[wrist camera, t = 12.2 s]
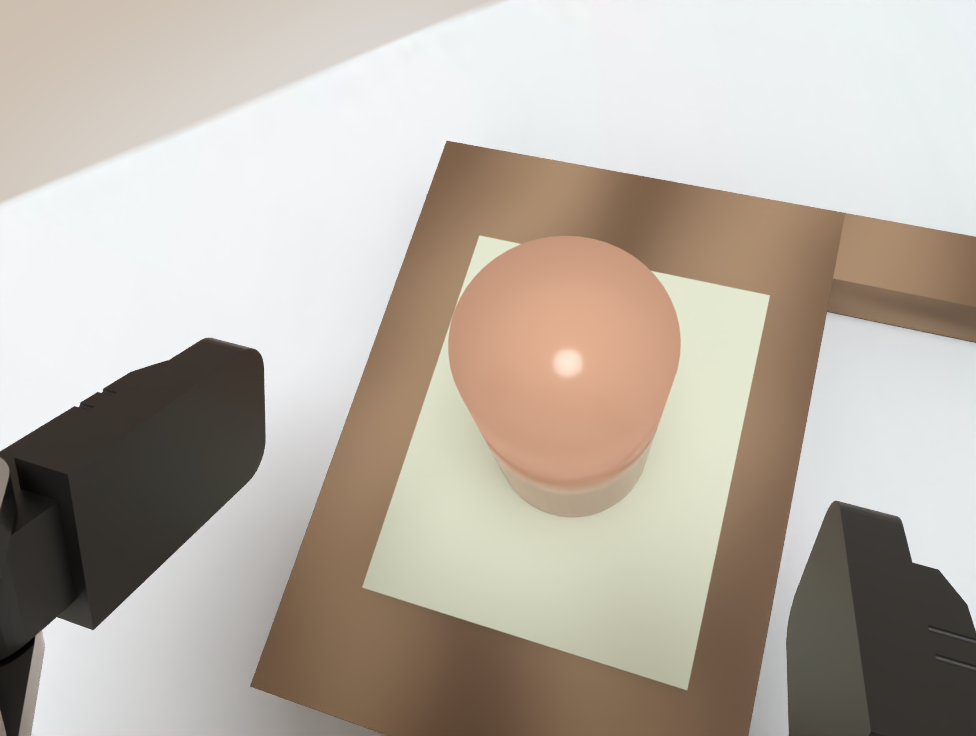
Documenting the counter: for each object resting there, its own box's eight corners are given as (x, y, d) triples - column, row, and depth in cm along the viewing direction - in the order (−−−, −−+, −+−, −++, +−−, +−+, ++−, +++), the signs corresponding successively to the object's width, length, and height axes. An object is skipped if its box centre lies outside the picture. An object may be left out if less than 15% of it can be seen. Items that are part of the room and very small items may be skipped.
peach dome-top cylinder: (663, 391, 20) (704, 263, 13) (626, 536, 19) (648, 483, 12) (521, 354, 21) (487, 214, 14) (478, 492, 20) (417, 417, 13)
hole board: (1323, 343, 21) (1407, 308, 19) (1330, 1053, 16) (1442, 1115, 14) (457, 177, 26) (444, 134, 24) (280, 683, 21) (245, 686, 19)
